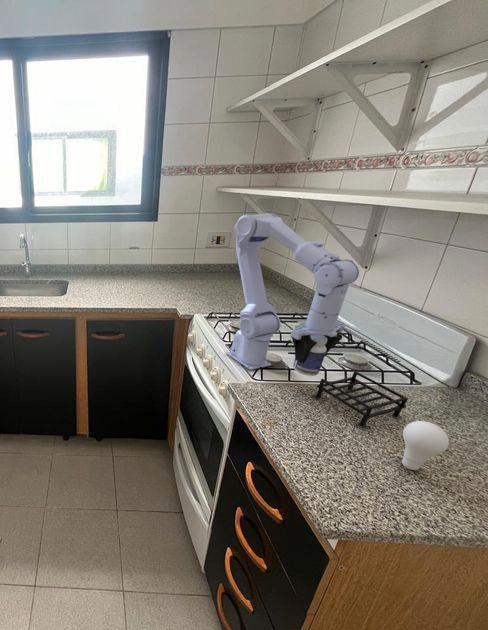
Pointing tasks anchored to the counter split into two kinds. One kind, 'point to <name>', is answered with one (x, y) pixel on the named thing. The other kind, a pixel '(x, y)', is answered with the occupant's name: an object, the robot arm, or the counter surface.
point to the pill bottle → (313, 357)
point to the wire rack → (350, 389)
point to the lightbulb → (422, 443)
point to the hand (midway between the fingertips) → (308, 359)
